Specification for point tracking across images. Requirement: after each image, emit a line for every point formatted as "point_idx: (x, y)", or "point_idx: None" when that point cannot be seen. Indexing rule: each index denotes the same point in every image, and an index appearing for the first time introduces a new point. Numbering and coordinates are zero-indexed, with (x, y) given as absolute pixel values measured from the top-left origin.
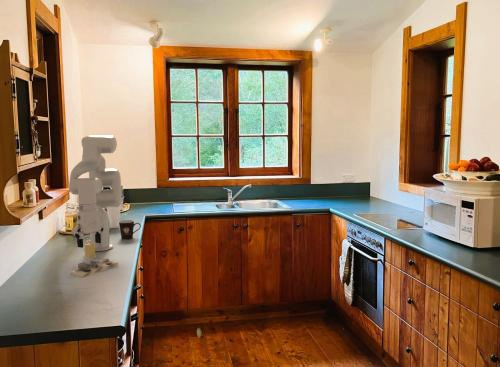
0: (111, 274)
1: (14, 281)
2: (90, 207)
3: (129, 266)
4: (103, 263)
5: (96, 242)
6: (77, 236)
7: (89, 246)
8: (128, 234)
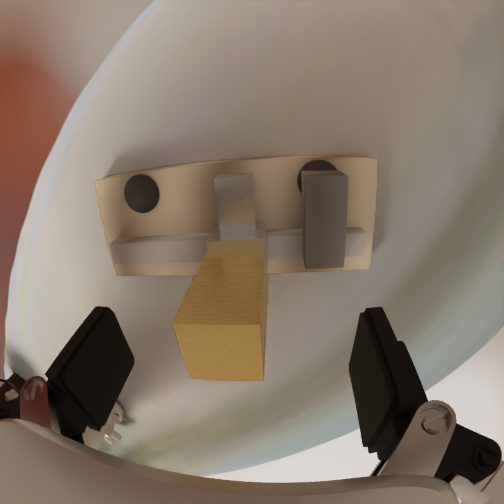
0: (230, 53)
1: (473, 344)
2: None
3: (82, 111)
4: (158, 230)
5: (128, 349)
6: (468, 440)
7: (257, 312)
8: (14, 385)
